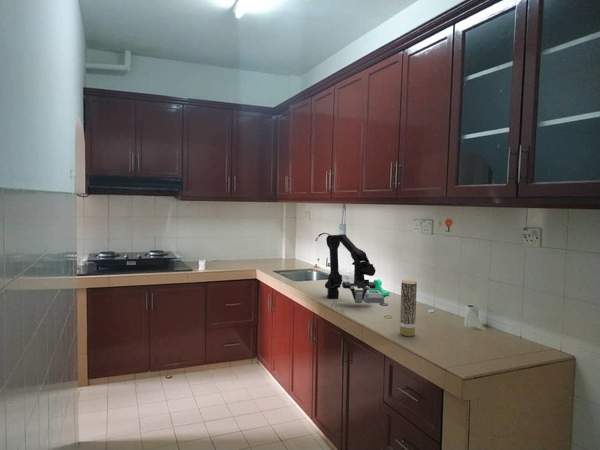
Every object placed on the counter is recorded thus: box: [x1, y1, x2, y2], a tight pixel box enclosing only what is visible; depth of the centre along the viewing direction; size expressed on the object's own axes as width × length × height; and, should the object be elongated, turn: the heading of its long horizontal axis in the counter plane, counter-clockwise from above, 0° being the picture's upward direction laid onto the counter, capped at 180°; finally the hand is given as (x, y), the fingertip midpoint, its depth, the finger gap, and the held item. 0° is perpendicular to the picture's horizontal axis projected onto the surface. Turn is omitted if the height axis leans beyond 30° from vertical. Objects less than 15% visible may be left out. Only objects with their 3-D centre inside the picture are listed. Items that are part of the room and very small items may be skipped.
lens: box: [354, 289, 363, 304], centre depth 236 cm, size 5×5×7 cm
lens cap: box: [379, 302, 389, 307], centre depth 240 cm, size 5×5×1 cm
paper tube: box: [399, 279, 418, 337], centre depth 187 cm, size 7×7×25 cm
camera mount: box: [368, 279, 391, 297], centre depth 266 cm, size 12×8×10 cm, turn 35°
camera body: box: [362, 290, 385, 304], centre depth 248 cm, size 11×8×6 cm
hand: (358, 299), depth 236 cm, fingers closed on lens, 4 cm apart
